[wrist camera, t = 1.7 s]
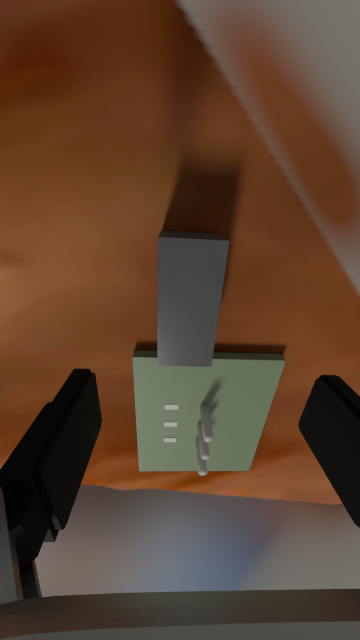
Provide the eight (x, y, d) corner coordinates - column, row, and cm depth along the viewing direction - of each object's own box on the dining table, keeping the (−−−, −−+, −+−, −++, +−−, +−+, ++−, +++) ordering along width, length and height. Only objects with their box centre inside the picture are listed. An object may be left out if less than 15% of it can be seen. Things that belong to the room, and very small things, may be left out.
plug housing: (161, 230, 18) (157, 237, 13) (215, 233, 18) (229, 240, 14) (160, 334, 22) (157, 365, 18) (203, 336, 23) (211, 366, 18)
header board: (134, 350, 23) (124, 385, 18) (280, 353, 24) (306, 388, 19) (140, 462, 32) (134, 504, 27) (246, 462, 33) (258, 503, 28)
